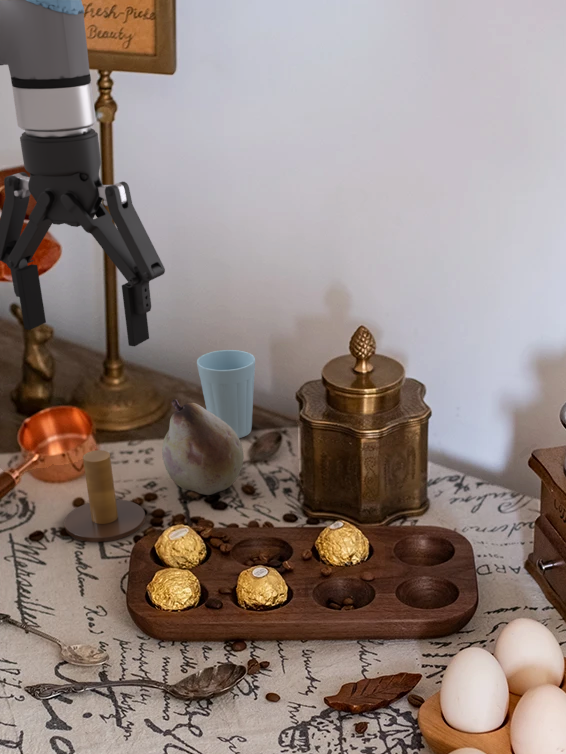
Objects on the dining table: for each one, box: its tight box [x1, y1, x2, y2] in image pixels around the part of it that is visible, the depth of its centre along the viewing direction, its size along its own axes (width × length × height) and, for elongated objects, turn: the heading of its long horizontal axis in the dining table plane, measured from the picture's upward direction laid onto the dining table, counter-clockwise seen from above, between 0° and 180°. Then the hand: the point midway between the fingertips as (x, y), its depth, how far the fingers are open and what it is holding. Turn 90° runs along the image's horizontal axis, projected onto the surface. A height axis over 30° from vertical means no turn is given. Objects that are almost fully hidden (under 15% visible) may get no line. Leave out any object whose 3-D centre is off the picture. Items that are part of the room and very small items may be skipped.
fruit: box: [161, 398, 245, 496], centre depth 134 cm, size 10×9×12 cm
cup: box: [196, 349, 256, 439], centre depth 149 cm, size 8×8×10 cm
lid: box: [63, 449, 146, 543], centre depth 127 cm, size 9×9×9 cm
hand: (86, 334), depth 119 cm, fingers open, 13 cm apart
